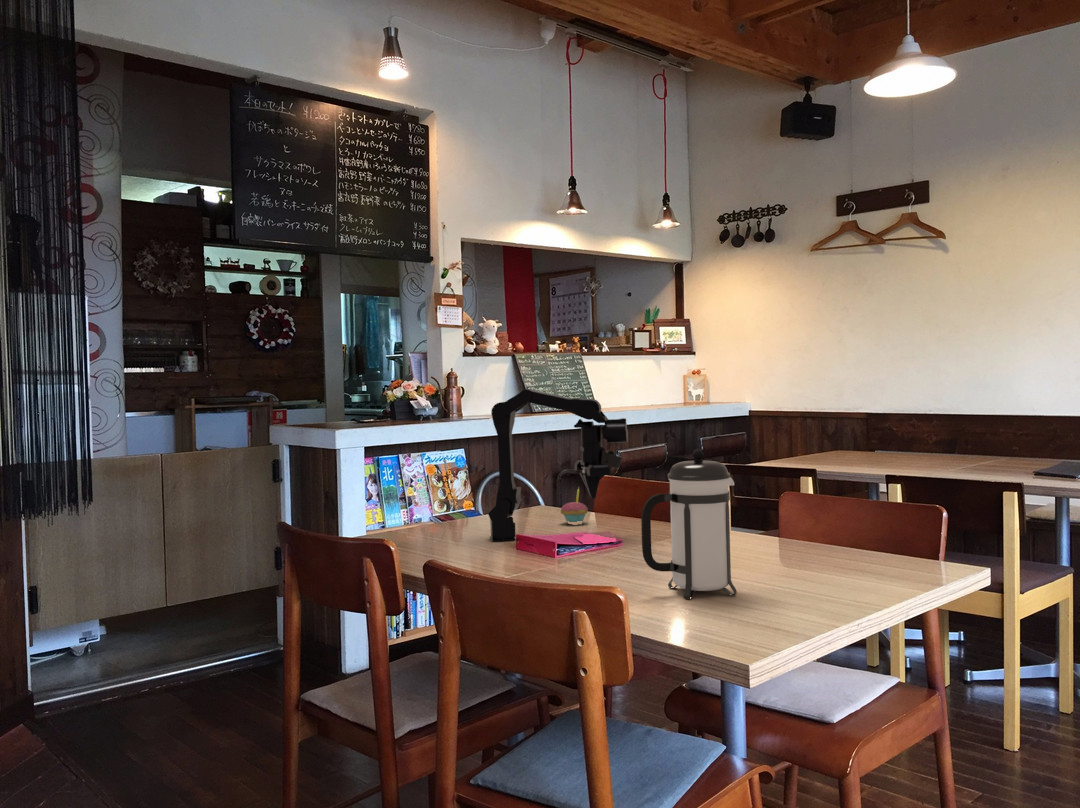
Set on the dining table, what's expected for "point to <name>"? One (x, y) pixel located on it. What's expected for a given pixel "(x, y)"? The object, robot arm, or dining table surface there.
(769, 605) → the dining table surface
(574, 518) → the cupcake
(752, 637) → the dining table surface
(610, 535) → the pink rectangular block
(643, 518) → the coffee press
